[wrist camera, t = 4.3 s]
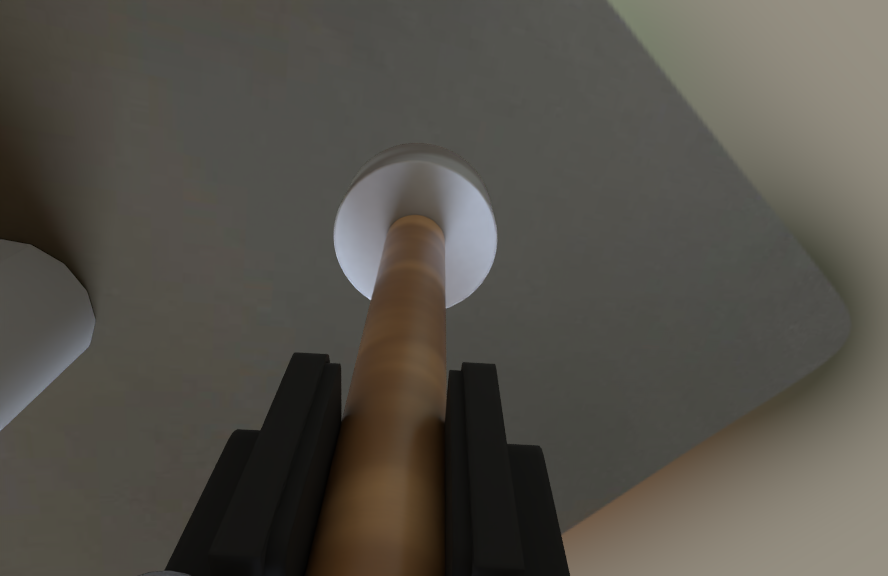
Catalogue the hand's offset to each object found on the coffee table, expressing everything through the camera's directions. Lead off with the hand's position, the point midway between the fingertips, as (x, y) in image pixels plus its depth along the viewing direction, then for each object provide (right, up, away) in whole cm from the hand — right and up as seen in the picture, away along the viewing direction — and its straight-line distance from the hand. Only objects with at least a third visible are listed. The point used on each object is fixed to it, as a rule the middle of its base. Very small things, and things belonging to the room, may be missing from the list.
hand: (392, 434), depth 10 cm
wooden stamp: (0, +5, +10) cm, 11 cm away
